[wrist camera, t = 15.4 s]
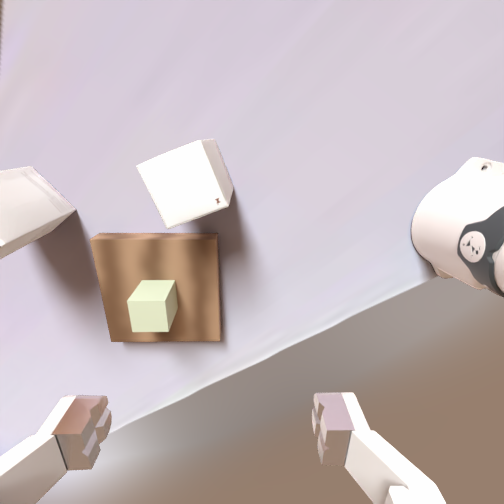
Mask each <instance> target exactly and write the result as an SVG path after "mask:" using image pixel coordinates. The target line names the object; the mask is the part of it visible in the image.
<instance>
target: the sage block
mask: <svg viewBox="0 0 504 504" xmlns="http://www.w3.org/2000/svg"><path fill="white" fill-rule="evenodd" d="M127 304H128V310H129V315H130V321H131V327H132V332H169V330H170V327H171V325H172V322H173V319H174V317H175V314H176V312H177V309H178V304H177V294H176V284H175V280H142V281H141V282H140V284H139V285H138V286H137V288H136V289H135V291H134V292H133V293H132V295H131V296H130V298H129V299H128V300H127Z"/></svg>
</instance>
